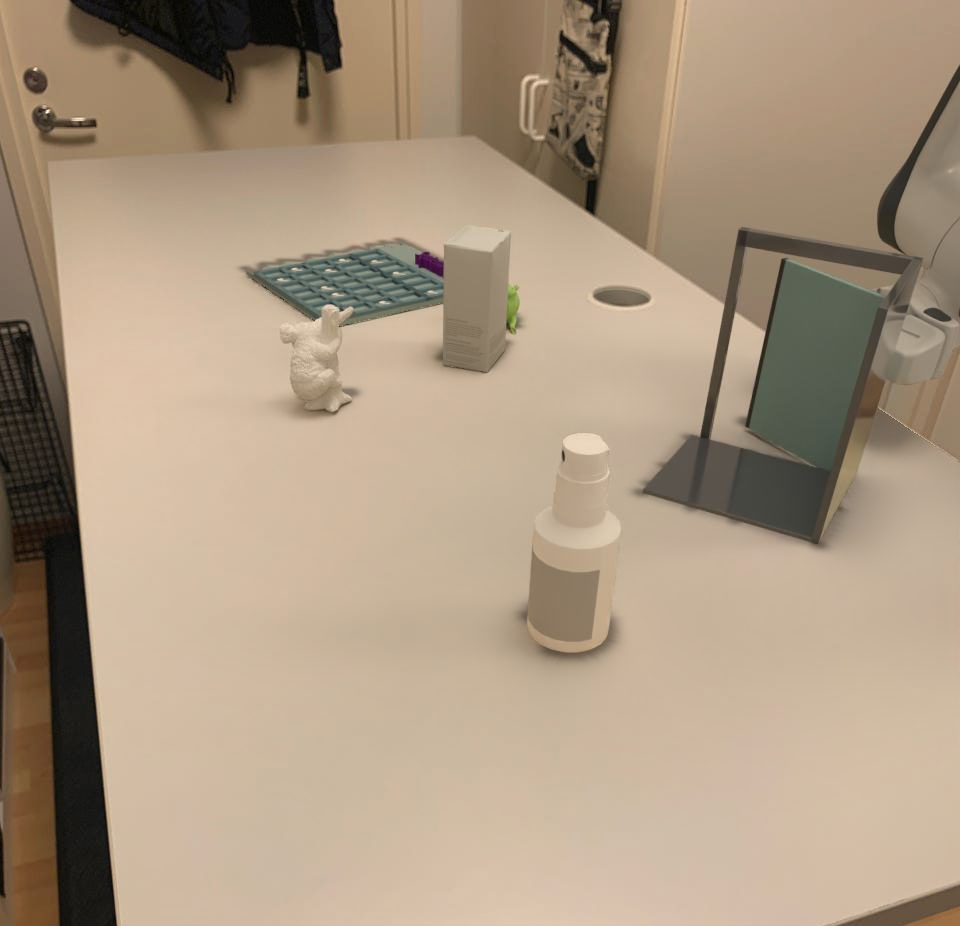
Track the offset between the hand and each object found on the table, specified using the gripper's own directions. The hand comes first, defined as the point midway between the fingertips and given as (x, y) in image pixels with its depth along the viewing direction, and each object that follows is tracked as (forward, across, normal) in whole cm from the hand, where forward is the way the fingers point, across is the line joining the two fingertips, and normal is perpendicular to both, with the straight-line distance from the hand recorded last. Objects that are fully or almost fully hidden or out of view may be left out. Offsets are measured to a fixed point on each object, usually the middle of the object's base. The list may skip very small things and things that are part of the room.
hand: (803, 346), depth 104 cm
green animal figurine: (+13, -43, +10) cm, 46 cm away
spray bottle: (+44, +20, +10) cm, 49 cm away
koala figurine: (+45, -30, +10) cm, 55 cm away
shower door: (+1, +5, +9) cm, 11 cm away
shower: (+14, +9, +10) cm, 19 cm away
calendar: (+22, -67, +10) cm, 72 cm away
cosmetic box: (+22, -34, +10) cm, 42 cm away
